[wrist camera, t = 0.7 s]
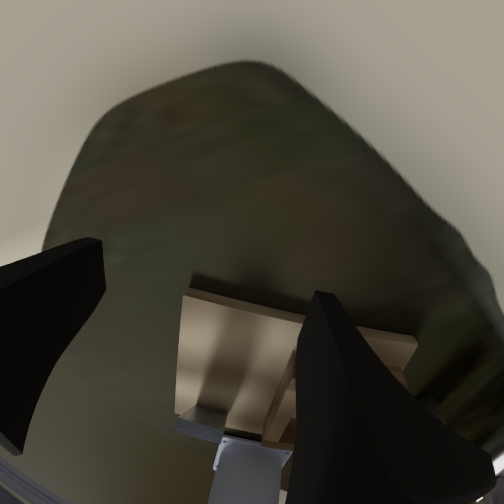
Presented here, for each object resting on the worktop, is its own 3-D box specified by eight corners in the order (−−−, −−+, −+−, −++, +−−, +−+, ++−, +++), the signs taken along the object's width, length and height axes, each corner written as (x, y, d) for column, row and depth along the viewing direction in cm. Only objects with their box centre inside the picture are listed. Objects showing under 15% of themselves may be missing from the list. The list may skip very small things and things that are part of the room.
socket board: (347, 436, 26) (351, 467, 22) (178, 404, 26) (165, 435, 23) (413, 336, 21) (430, 369, 17) (188, 287, 21) (167, 318, 17)
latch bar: (227, 412, 24) (225, 422, 24) (196, 404, 24) (193, 413, 24) (224, 430, 16) (220, 443, 16) (177, 417, 16) (174, 431, 16)
